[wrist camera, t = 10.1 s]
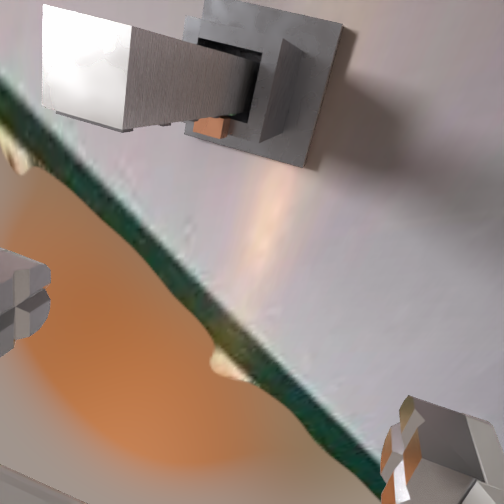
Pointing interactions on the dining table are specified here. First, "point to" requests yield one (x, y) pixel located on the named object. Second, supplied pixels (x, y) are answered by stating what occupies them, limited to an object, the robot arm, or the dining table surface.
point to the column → (136, 74)
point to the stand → (268, 76)
